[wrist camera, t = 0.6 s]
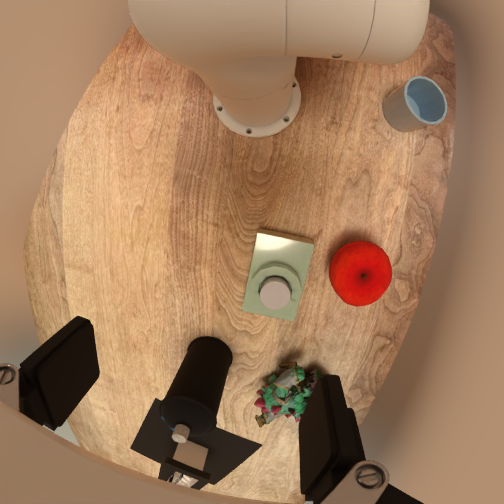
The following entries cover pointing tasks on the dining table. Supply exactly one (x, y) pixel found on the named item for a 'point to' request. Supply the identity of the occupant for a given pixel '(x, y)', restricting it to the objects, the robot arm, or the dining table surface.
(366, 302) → the apple
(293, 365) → the figurine
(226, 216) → the dining table surface
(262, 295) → the round grey push button
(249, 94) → the robot arm
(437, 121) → the cup
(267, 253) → the push button box
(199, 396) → the aerosol can
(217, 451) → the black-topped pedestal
